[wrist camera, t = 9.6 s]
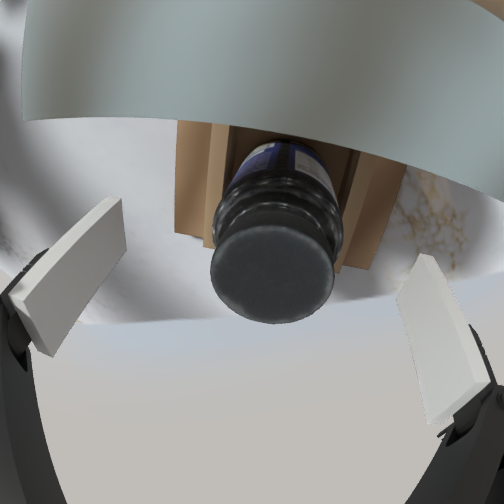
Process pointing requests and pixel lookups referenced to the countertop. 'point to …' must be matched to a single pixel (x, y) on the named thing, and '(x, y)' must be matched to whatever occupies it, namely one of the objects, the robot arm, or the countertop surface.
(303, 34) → the socket stand
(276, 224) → the pill bottle
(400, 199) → the countertop surface
